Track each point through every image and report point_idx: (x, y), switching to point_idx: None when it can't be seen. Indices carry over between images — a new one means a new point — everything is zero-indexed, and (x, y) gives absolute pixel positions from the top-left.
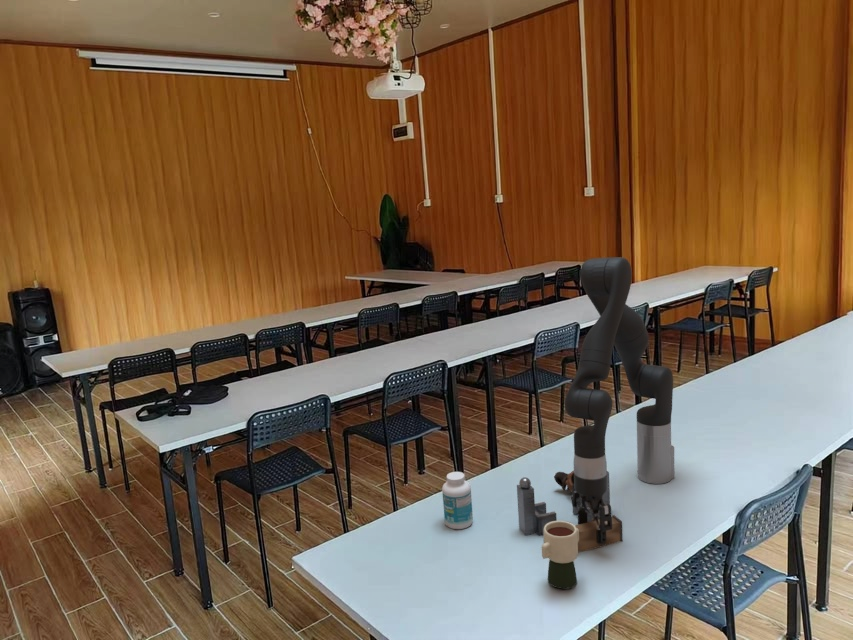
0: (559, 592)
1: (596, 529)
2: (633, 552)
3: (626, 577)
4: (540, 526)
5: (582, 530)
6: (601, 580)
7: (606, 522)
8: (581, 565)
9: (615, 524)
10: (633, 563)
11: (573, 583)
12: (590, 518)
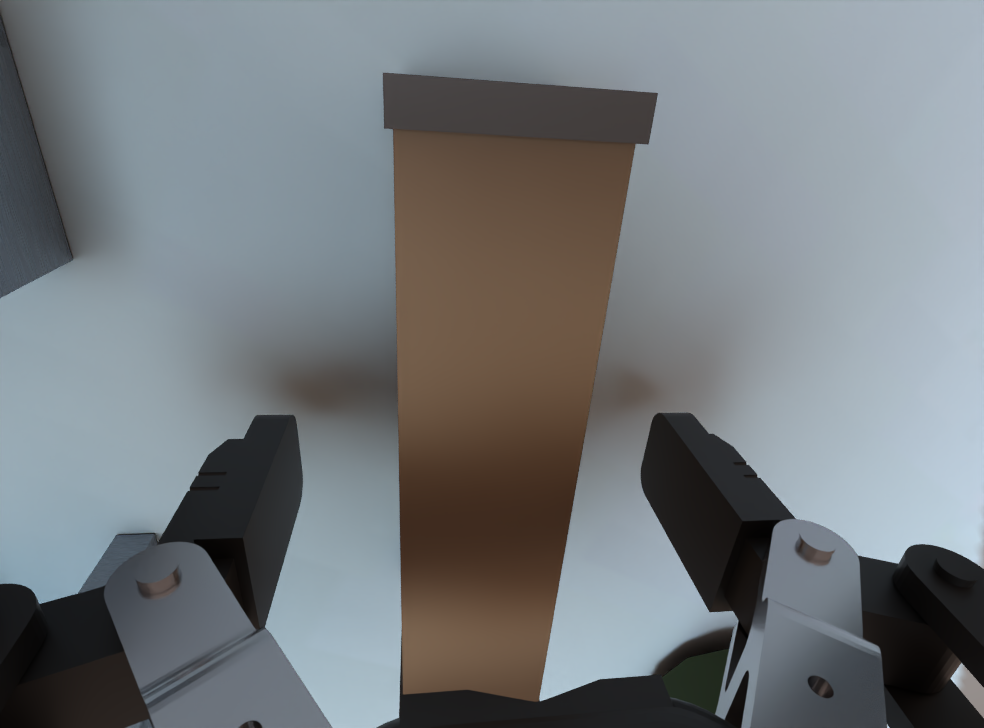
0: None
1: (717, 609)
2: (777, 125)
3: (940, 387)
4: None
5: (532, 626)
6: (842, 523)
7: (860, 597)
8: (653, 554)
9: (616, 226)
10: (882, 241)
11: None
12: (5, 204)
